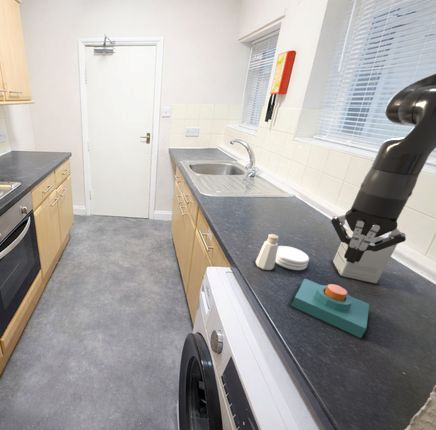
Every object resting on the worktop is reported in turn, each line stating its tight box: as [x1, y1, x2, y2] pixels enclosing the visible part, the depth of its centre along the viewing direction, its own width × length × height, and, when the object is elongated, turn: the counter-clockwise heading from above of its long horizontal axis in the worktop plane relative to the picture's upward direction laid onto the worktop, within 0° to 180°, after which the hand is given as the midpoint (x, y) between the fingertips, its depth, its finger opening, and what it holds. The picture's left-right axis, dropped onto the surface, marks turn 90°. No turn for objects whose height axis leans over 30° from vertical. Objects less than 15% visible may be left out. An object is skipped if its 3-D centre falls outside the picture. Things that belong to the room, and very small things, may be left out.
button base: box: [291, 278, 370, 339], centre depth 67 cm, size 14×11×5 cm
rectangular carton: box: [332, 225, 398, 284], centre depth 80 cm, size 9×9×15 cm
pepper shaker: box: [255, 233, 279, 271], centre depth 83 cm, size 5×5×11 cm
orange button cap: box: [325, 283, 348, 301], centre depth 66 cm, size 4×4×2 cm
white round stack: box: [275, 245, 310, 271], centre depth 87 cm, size 10×10×4 cm
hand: (350, 260), depth 62 cm, fingers closed
